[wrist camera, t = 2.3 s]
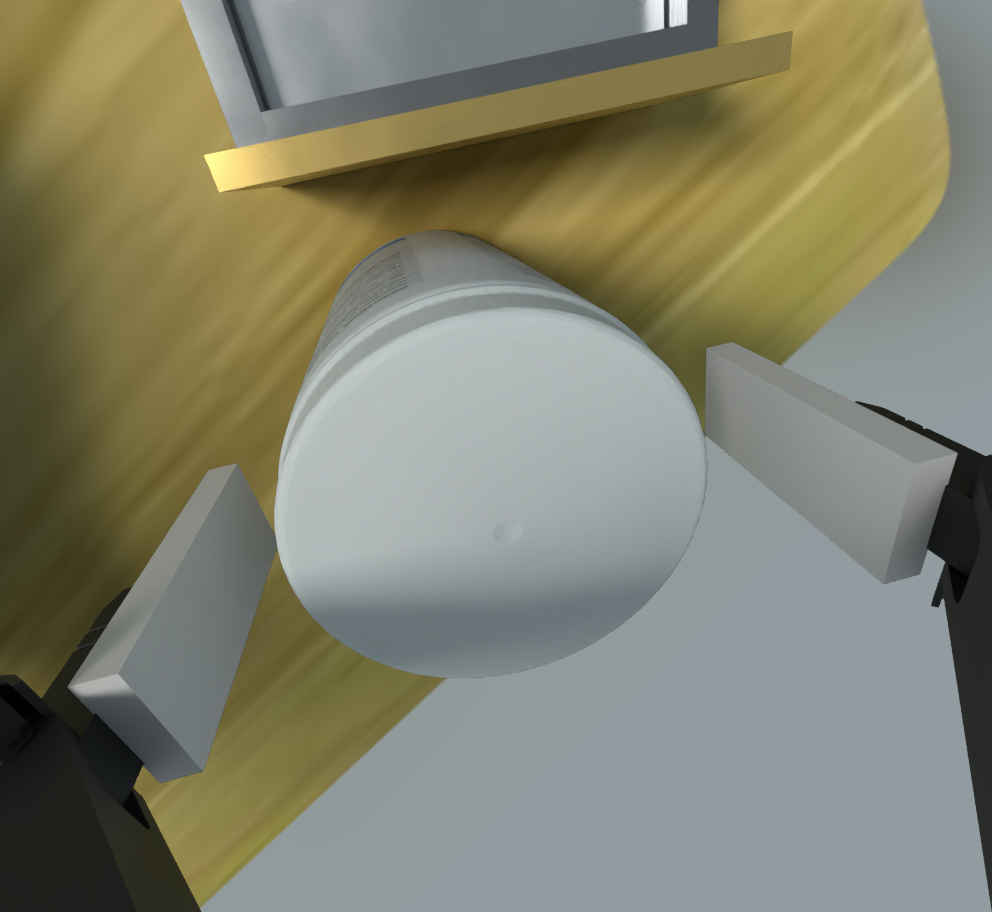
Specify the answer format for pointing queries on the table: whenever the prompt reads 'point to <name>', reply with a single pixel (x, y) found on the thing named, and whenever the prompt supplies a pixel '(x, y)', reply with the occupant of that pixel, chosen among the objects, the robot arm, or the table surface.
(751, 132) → the table surface
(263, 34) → the gray square tray
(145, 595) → the robot arm
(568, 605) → the supplement tub
